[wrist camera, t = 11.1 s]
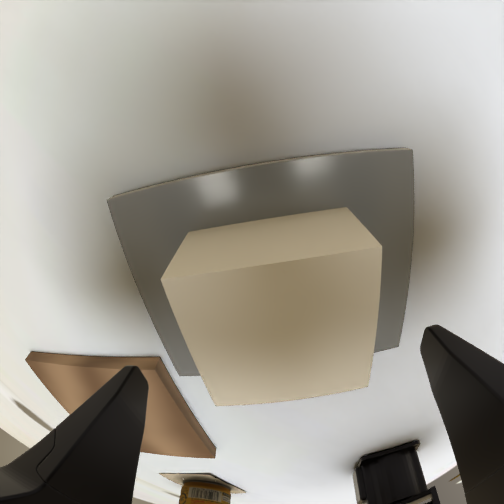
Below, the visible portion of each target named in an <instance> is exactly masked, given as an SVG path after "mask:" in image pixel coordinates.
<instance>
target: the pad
mask: <svg viewBox="0 0 504 504" xmlns="http://www.w3.org/2000/svg"><path fill="white" fill-rule="evenodd" d="M107 203H108V206H109V209H110V212H111V216H112V219H113V222H114V225H115V228H116V231H117V234H118V237H119V240H120V242H121V245H122V248H123V251H124V254H125V256H126V259H127V262H128V264H129V267H130V269H131V272H132V275H133V277H134V280H135V282H136V285H137V287H138V289H139V292H140V294H141V297H142V299H143V301H144V304H145V306H146V308H147V311H148V313H149V315H150V317H151V319H152V322H153V324H154V326H155V328H156V330H157V332H158V335H159V337H160V339H161V341H162V343H163V345H164V347H165V349H166V351H167V353H168V355H169V357H170V359H171V361H172V363H173V365H174V367H175V369H176V370H177V372H178V374H179V376H201V375H200V373H199V371H198V369H197V366H196V364H195V362H194V360H193V358H192V356H191V353H190V351H189V349H188V346H187V344H186V342H185V340H184V337H183V335H182V333H181V330H180V328H179V325H178V323H177V321H176V318H175V316H174V313H173V311H172V308H171V306H170V303H169V300H168V298H167V295H166V293H165V290H164V287H163V285H162V282H161V278H162V276H163V274H164V272H165V271H166V269H167V267H168V265H169V264H170V262H171V260H172V259H173V257H174V255H175V253H176V252H177V250H178V248H179V247H180V245H181V243H182V242H183V240H184V238H185V237H186V235H187V233H188V232H191V231H197V230H202V229H208V228H214V227H220V226H225V225H231V224H237V223H244V222H250V221H256V220H262V219H268V218H275V217H281V216H288V215H295V214H301V213H308V212H315V211H322V210H329V209H337V208H344V207H347V208H348V209H349V210H350V211H351V212H352V213H353V214H354V215H355V216H356V218H357V219H358V220H359V221H360V222H361V223H362V224H363V225H364V226H365V227H366V228H367V230H368V231H369V232H370V233H371V234H372V235H373V236H374V237H375V239H376V240H377V241H378V242H379V243H380V244H381V245H382V268H381V286H380V300H379V311H378V321H377V330H376V339H375V346H374V353H375V352H379V351H383V350H387V349H391V348H395V347H399V342H400V337H401V332H402V326H403V321H404V315H405V309H406V302H407V295H408V287H409V279H410V269H411V258H412V245H413V227H414V167H413V150H412V149H408V148H391V149H375V150H361V151H350V152H339V153H330V154H321V155H312V156H304V157H297V158H290V159H283V160H276V161H269V162H263V163H257V164H251V165H245V166H240V167H234V168H229V169H224V170H219V171H214V172H209V173H204V174H199V175H195V176H190V177H186V178H181V179H177V180H172V181H168V182H164V183H160V184H156V185H152V186H148V187H144V188H140V189H137V190H133V191H129V192H126V193H122V194H119V195H115V196H113V197H111V198H109V199H108V200H107Z"/></svg>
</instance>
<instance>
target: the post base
mask: <svg viewBox="0 0 504 504" xmlns="http://www.w3.org/2000/svg"><path fill="white" fill-rule="evenodd" d="M25 360H26V362H27V363H28V365H29V366H30V367H31V369H32V370H33V371H34V373H35V374H36V375H37V377H38V378H39V379H40V380H41V382H42V383H43V384H44V385H45V387H46V388H47V389H48V390H49V391H50V393H51V394H52V395H53V396H54V397H55V399H56V400H57V401H58V402H59V403H60V404H61V405H62V406H63V408H64V409H65V410H66V411H67V412H68V413H69V414H72V413H73V412H74V411H75V410H76V409H77V408H78V407H79V406H81V405H82V404H83V403H84V402H85V401H86V400H87V399H88V398H90V397H91V396H92V395H93V394H94V393H95V392H96V391H97V390H99V389H100V388H101V387H102V386H103V385H104V384H105V383H106V382H108V381H109V380H110V379H111V378H112V377H113V376H114V375H115V374H117V373H118V372H119V371H120V370H121V369H122V368H123V367H125V366H127V365H136V366H138V367H139V368H140V370H141V372H142V373H143V375H144V376H145V378H146V380H147V381H148V385H149V391H148V400H147V410H146V421H145V428H144V434H143V439H142V444H141V449H140V452H145V453H152V454H160V455H169V456H180V457H194V458H215V454H216V448H215V446H214V445H213V444H212V442H211V441H210V439H209V438H208V436H207V435H206V433H205V432H204V430H203V429H202V427H201V426H200V424H199V423H198V421H197V420H196V418H195V417H194V415H193V414H192V412H191V410H190V409H189V407H188V406H187V404H186V402H185V401H184V399H183V397H182V396H181V394H180V392H179V391H178V389H177V387H176V386H175V384H174V382H173V380H172V379H171V377H170V375H169V373H168V372H167V370H166V368H165V366H164V364H163V362H162V361H161V359H160V357H97V356H77V355H62V354H50V353H40V352H30V354H29V355H28V356H27V358H26V359H25Z"/></svg>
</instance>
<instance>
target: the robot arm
mask: <svg viewBox="0 0 504 504" xmlns="http://www.w3.org/2000/svg"><path fill="white" fill-rule="evenodd" d="M420 351H421V355H422V358H423V361H424V365H425V368H426V371H427V375H428V378H429V382H430V386H431V389H432V392H433V395H434V398H435V400H436V403H437V406H438V408H439V411H440V414H441V416H442V419H443V422H444V425H445V427H446V430H447V433H448V436H449V439H450V442H451V445H452V449H453V452H454V455H455V458H456V462H457V465H458V469H459V472H460V476H461V480H462V483H463V488H464V492H465V497H466V501H467V504H504V364H503V363H502V362H500V361H498V360H497V359H495V358H493V357H492V356H490V355H489V354H487V353H485V352H484V351H482V350H480V349H479V348H477V347H475V346H474V345H472V344H470V343H469V342H467V341H465V340H464V339H462V338H460V337H458V336H457V335H455V334H453V333H452V332H450V331H448V330H447V329H445V328H443V327H441V326H440V325H432V326H429V327H426V329H425V331H424V335H423V338H422V342H421V346H420ZM148 391H149V385H148V381H147V380H146V378H145V376H144V375H143V373H142V372H141V370H140V368H139V367H138V366H136V365H127V366H125V367H123V368H122V369H121V370H120V371H119V372H118V373H117V374H115V375H114V376H113V377H112V378H111V379H110V380H109V381H108V382H106V383H105V384H104V385H103V386H102V387H101V388H100V389H99V390H97V391H96V392H95V393H94V394H93V395H92V396H91V397H90V398H88V399H87V400H86V401H85V402H84V403H83V404H82V405H81V406H79V407H78V408H77V409H76V410H75V411H74V412H73V413H72V414H70V415H69V416H68V417H67V418H66V419H65V420H64V421H63V422H61V423H60V424H59V425H58V426H57V427H56V429H53V430H52V431H51V432H50V433H49V434H48V435H47V436H45V437H44V438H43V439H42V440H41V441H40V442H38V443H37V444H36V445H34V446H33V447H32V448H30V449H29V450H28V451H26V452H25V453H24V454H22V455H21V456H19V457H18V458H17V459H15V460H14V461H12V462H11V463H9V464H8V465H6V466H3V467H0V504H132V497H133V491H134V484H135V478H136V472H137V466H138V460H139V455H140V449H141V444H142V439H143V434H144V428H145V421H146V410H147V400H148ZM419 445H420V441H419V440H418V441H415V442H412V443H409V444H406V445H403V446H400V447H396V448H393V449H390V450H386V451H383V452H379V453H375V454H371V455H368V456H364V457H362V458H361V459H360V461H359V464H358V466H357V468H356V469H355V471H354V473H353V481H354V487H355V493H356V500H357V504H418V503H420V502H422V501H424V500H427V499H429V498H431V500H432V501H430V502H428V503H425V504H440V501H439V498H438V494H437V491H436V488H435V486H433V487H431V488H430V489H429V490H428V489H427V486H426V482H425V479H424V475H423V472H422V468H421V465H420V462H419V458H418V455H417V452H416V450H417V448H418V447H419Z"/></svg>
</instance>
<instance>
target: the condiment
mask: <svg viewBox="0 0 504 504" xmlns="http://www.w3.org/2000/svg"><path fill="white" fill-rule="evenodd" d="M160 475H162V476H163V477H166V478H167V479H169V480H171V481H173V482H175V483H177V484H180V485H182V489H181V495H180V499H179V504H230V499H231V494H230V493H246V492H244V491H242V490H240V489H238V488H237V487H235V486H232V485H229V484H226V483H225V482H223V481H221V480H220V479H217V478H214V477H213V476H211V475H203V474H179V473H177V474H160ZM182 478H184V480H183V479H182Z"/></svg>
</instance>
